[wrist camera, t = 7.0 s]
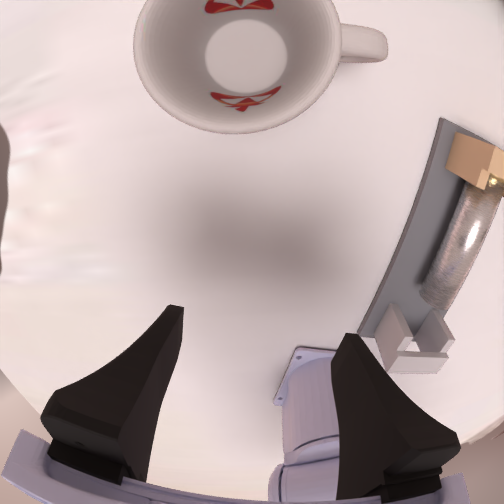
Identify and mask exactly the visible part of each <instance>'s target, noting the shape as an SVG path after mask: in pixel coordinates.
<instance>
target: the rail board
mask: <svg viewBox="0 0 504 504" xmlns="http://www.w3.org/2000/svg"><path fill="white" fill-rule="evenodd" d="M490 173H492V174H494V175H496V176H498V177H500V178H502V179H503V180H504V151H503V150H501V149H500V148H498V147H496V146H495V145H493V144H491V143H490V142H488V141H486V140H484V139H483V138H481V137H479V136H477V135H475V134H473V133H472V132H470V131H468V130H466V129H464V128H462V127H460V126H458V125H456V124H454V123H452V122H450V121H448V120H446V119H443V118H440V120H439V124H438V128H437V131H436V135H435V139H434V142H433V146H432V149H431V153H430V156H429V159H428V163H427V166H426V169H425V172H424V175H423V178H422V181H421V184H420V187H419V190H418V193H417V196H416V199H415V202H414V204H413V207H412V210H411V213H410V215H409V218H408V221H407V223H406V226H405V228H404V231H403V233H402V236H401V238H400V241H399V243H398V246H397V248H396V251H395V253H394V255H393V258H392V260H391V262H390V265H389V267H388V269H387V271H386V274H385V276H384V278H383V280H382V283H381V285H380V287H379V289H378V291H377V293H376V295H375V297H374V300H373V302H372V304H371V306H370V308H369V310H368V312H367V314H366V316H365V318H364V320H363V322H362V324H361V326H360V328H359V329H358V331H357V333H358V335H359V336H360V337H369V338H375V339H376V342H377V345H378V348H379V351H380V354H381V357H382V360H383V363H384V366H385V369H386V373H401V374H437V372H438V371H439V370H440V369H441V367H442V366H443V365H444V363H445V362H446V361H447V359H448V358H449V357H448V355H447V353H446V352H447V351H448V350H449V348H450V347H451V345H452V344H453V343H454V341H455V339H454V337H453V335H452V333H451V331H450V330H449V328H448V326H447V325H446V323H445V321H444V319H443V318H444V316H445V314H446V313H447V311H448V309H449V308H450V307H449V308H448V309H447V310H439V309H436V308H434V307H432V306H430V305H429V304H427V303H426V302H425V301H424V300H423V299H422V298H421V296H420V294H419V289H420V287H421V285H422V283H423V281H424V279H425V277H426V275H427V273H428V271H429V269H430V267H431V264H432V262H433V260H434V258H435V256H436V254H437V252H438V249H439V247H440V245H441V243H442V240H443V238H444V236H445V233H446V231H447V229H448V226H449V224H450V221H451V219H452V216H453V214H454V211H455V208H456V206H457V203H458V201H459V198H460V195H461V192H462V189H463V187H464V184H465V181H468V182H470V183H471V184H473V185H474V186H476V187H478V188H480V189H483V190H485V187H486V184H487V181H488V178H489V175H490ZM502 196H503V197H504V191H503V194H502ZM501 198H502V197H501ZM500 201H501V199H500ZM499 203H500V202H499ZM498 206H499V205H498ZM497 209H498V207H497ZM496 211H497V210H496ZM495 214H496V212H495ZM494 216H495V215H494ZM493 219H494V218H493ZM492 221H493V220H492ZM491 224H492V222H491ZM490 226H491V225H490ZM489 228H490V227H489ZM488 231H489V230H488ZM487 233H488V232H487ZM486 235H487V234H486ZM485 238H486V237H485ZM484 240H485V239H484ZM483 242H484V241H483ZM482 244H483V243H482ZM481 247H482V245H481ZM480 249H481V248H480ZM479 251H480V250H479ZM478 253H479V252H478ZM477 255H478V254H477ZM476 257H477V256H476ZM475 259H476V258H475ZM474 261H475V260H474ZM473 263H474V262H473ZM472 265H473V264H472ZM471 267H472V266H471ZM470 269H471V268H470ZM469 271H470V270H469ZM468 273H469V272H468ZM467 275H468V274H467ZM466 277H467V276H466ZM465 279H466V278H465ZM464 281H465V280H464ZM463 283H464V282H463ZM462 285H463V284H462ZM461 287H462V286H461ZM461 287H460V288H461ZM459 290H460V289H459ZM458 292H459V291H458ZM457 294H458V293H457ZM456 296H457V295H456ZM456 296H455V297H456ZM454 299H455V298H454ZM453 301H454V300H453ZM452 303H453V302H452ZM452 303H451V304H452ZM450 306H451V305H450ZM411 341H416V343H417V345H418V347H419V349H420V352H412V351H405V350H406V348H407V347H408V345H409V343H410V342H411Z"/></svg>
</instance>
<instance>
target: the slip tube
mask: <svg viewBox="0 0 504 504" xmlns="http://www.w3.org/2000/svg"><path fill="white" fill-rule="evenodd" d="M503 191H504V180H503V179H502V178H500V177H498V176H496V175H494V174H492V173H490V175H489V178H488V181H487V184H486V187H485V190H483V189H480V188H478V187H476V186H474V185H473V184H471V183H470V182H468V181H465V184H464V187H463V189H462V192H461V195H460V198H459V201H458V203H457V206H456V208H455V211H454V214H453V216H452V219H451V221H450V224H449V226H448V229H447V231H446V233H445V236H444V238H443V240H442V243H441V245H440V247H439V249H438V252H437V254H436V256H435V258H434V260H433V262H432V264H431V267H430V269H429V271H428V273H427V275H426V277H425V279H424V281H423V283H422V285H421V287H420V289H419V294H420V296H421V298H422V299H423V300H424V301H425V302H426V303H427V304H429V305H430V306H432V307H434V308H436V309H439V310H447V309H448V308H449V307H450V305H451V303H452V302H453V300H454V298H455V296H456V295H457V293H458V291H459V289H460V287H461V286H462V284H463V282H464V280H465V278H466V276H467V274H468V272H469V270H470V268H471V266H472V264H473V262H474V260H475V258H476V256H477V254H478V252H479V250H480V248H481V245H482V243H483V241H484V239H485V237H486V234H487V232H488V230H489V227H490V225H491V222H492V220H493V218H494V215H495V212H496V210H497V207H498V205H499V202H500V199H501V197H502V194H503Z"/></svg>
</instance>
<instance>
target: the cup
mask: <svg viewBox="0 0 504 504" xmlns="http://www.w3.org/2000/svg"><path fill="white" fill-rule="evenodd" d="M133 52H134V60H135V65H136V69H137V72H138V74H139V77H140V79H141V81H142V83H143V85H144V87H145V89H146V90H147V92H148V93H149V95H150V96H151V97H152V98H153V100H154V101H155V102H156V103H157V104H158V105H159V106H160V107H161V108H162V109H163V110H165V111H166V112H167V113H168V114H170V115H171V116H173V117H174V118H176V119H178V120H180V121H181V122H183V123H185V124H188V125H190V126H193V127H195V128H198V129H201V130H205V131H209V132H214V133H221V134H247V133H254V132H259V131H264V130H267V129H270V128H274V127H277V126H279V125H281V124H284V123H286V122H288V121H290V120H292V119H293V118H295V117H297V116H298V115H300V114H301V113H303V112H304V111H305V110H307V109H308V108H309V107H310V106H311V105H312V104H314V103H315V102H316V101H317V99H318V98H319V97H320V96H321V95H322V94H323V93H324V91H325V90H326V89H327V87H328V86H329V84H330V82H331V80H332V79H333V77H334V74H335V72H336V70H337V67H338V64H339V62H344V63H372V62H381V61H383V60H385V59H386V58H387V56H388V44H387V39H386V37H385V35H384V34H383V33H382V32H380V31H378V30H376V29H373V28H368V27H363V26H357V25H349V24H342V23H340V20H339V17H338V14H337V11H336V9H335V6H334V4H333V2H332V1H331V0H147V1H146V2H145V4H144V6H143V8H142V10H141V12H140V14H139V17H138V20H137V23H136V27H135V32H134V41H133Z"/></svg>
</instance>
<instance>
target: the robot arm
mask: <svg viewBox="0 0 504 504" xmlns="http://www.w3.org/2000/svg"><path fill="white" fill-rule="evenodd" d="M183 314H184V307H180V306H176V305H171V304H170V305H168V306H167V307H166V309H165V310H164V311H163V312H162V314H161V315H160V316H159V317H158V318H157V320H156V321H155V322H154V323H153V324H152V325H151V326H150V327H149V328H148V329H147V330H146V331H145V332H144V333H143V334H142V335H141V336H140V337H139V338H138V339H137V340H136V341H135V342H134V343H133V344H132V345H131V346H130V347H129V348H127V349H126V350H125V351H124V352H123V353H121V354H120V355H119V356H117V357H116V358H115V359H113V360H112V361H111V362H109V363H108V364H106V365H105V366H103V367H102V368H100V369H99V370H97V371H95V372H94V373H92V374H90V375H88V376H86V377H84V378H83V379H81V380H79V381H77V382H75V383H72V384H70V385H68V386H65V387H63V388H61V389H58V390H56V391H55V392H54V393H53V395H52V396H51V397H50V399H49V401H48V402H47V404H46V406H45V408H44V410H43V412H42V414H41V422H42V424H43V425H44V427H45V428H46V429H47V431H48V432H49V433H50V435H51V436H52V438H53V440H52V442H51V445H50V444H49V443H48V442H46V441H45V440H43V439H41V438H39V437H37V436H35V435H33V434H31V433H29V432H27V431H25V430H23V429H22V430H21V431H20V433H19V435H18V437H17V439H16V441H15V443H14V446H13V448H12V450H11V452H10V455H9V457H8V459H7V462H6V464H5V466H4V469H3V471H2V474H1V476H2V477H3V478H4V479H5V480H7V481H8V482H9V483H11V484H12V485H14V486H15V487H17V488H18V489H20V490H21V491H23V492H24V493H25V494H27V495H29V496H31V497H32V498H34V499H36V500H38V501H40V502H42V503H44V504H471V503H470V499H469V495H468V491H467V487H466V483H465V480H464V476H463V473H458V474H454V475H451V476H447V477H445V478H442V479H440V477H439V474H441V473H442V468H441V466H442V465H444V464H445V463H447V462H448V461H449V460H450V459H452V458H453V457H454V456H455V455H457V454H458V452H459V451H460V449H461V446H460V443H459V440H458V437H457V434H456V432H454V431H453V430H451V429H449V428H447V427H446V426H444V425H442V424H441V423H439V422H438V421H436V420H435V419H434V418H432V417H431V416H429V415H428V414H427V413H426V412H424V411H423V410H422V409H421V408H420V407H418V406H417V405H416V404H415V403H414V402H413V401H412V400H411V399H410V398H409V397H408V396H407V395H406V394H405V393H404V392H403V391H402V390H401V389H400V388H399V387H398V386H397V385H396V384H395V382H394V381H393V380H392V379H391V378H390V376H389V375H388V374H387V373H386V371H385V370H384V369H383V367H382V366H381V365H380V363H379V362H378V361H377V359H376V358H375V357H374V355H373V354H372V353H371V351H370V350H369V348H368V347H367V346H366V344H365V343H364V341H363V340H362V339H361V337H360V336H359V335H358V334H352V333H346V334H345V336H344V338H343V340H342V342H341V344H340V345H339V347H338V349H337V351H327V350H317V349H309V348H298V349H296V350H295V352H294V355H293V357H292V359H291V362H290V364H289V367H288V369H287V371H286V374H285V376H284V378H283V380H282V383H281V385H280V387H279V389H278V392H277V394H276V396H275V398H274V405H277V406H282V424H283V451H284V464H279V465H277V467H276V468H275V470H274V471H273V473H272V474H271V476H270V479H269V484H268V501H255V500H242V499H232V498H223V497H215V496H208V495H202V494H196V493H190V492H185V491H180V490H175V489H170V488H165V487H161V486H157V485H153V484H149V483H146V480H147V473H148V467H149V461H150V455H151V450H152V444H153V439H154V435H155V430H156V425H157V421H158V416H159V412H160V408H161V404H162V401H163V398H164V395H165V393H166V390H167V387H168V384H169V382H170V379H171V376H172V373H173V371H174V368H175V365H176V362H177V359H178V355H179V351H180V347H181V342H182V332H183Z"/></svg>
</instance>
